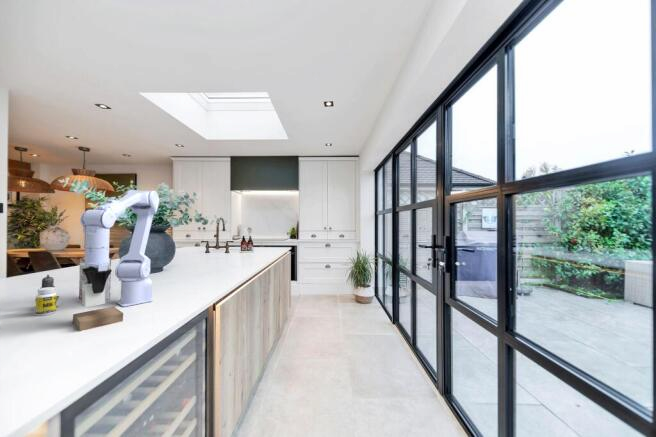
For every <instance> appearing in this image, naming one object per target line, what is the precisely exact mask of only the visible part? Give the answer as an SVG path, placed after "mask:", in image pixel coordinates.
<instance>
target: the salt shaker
mask: <svg viewBox="0 0 656 437" xmlns="http://www.w3.org/2000/svg"><path fill="white" fill-rule="evenodd" d="M54 279H55V278H54V277H53V276H50V274H47V275H46V277H43V278H42V279H41V287H40V288H39V289H41V288H46V287H55V288H56V286H54V281H55V280H54ZM59 298H60V295H57V296H56V303H57V301H58V299H59ZM34 301H35V302H36V298H35V299H34ZM58 307H59V306H58V305H56V309H57V308H58Z"/></svg>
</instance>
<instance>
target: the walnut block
mask: <svg viewBox="0 0 656 437" xmlns="http://www.w3.org/2000/svg"><path fill="white" fill-rule="evenodd" d="M121 322H124V312H122V311H121V310H120V309H118V308H117V307H116V306H108V307H104V308H98V309H92V310H88V311H83V312H78V313H73V314H72V324H73V325H74V324H75V325H74V326H75V327H76V328H77V329H78V331H79V332H83V330H84V331H87V330H92V329H96V328H100V327H105V326H108V325H113V324H116V323H121Z"/></svg>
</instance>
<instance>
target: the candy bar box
mask: <svg viewBox="0 0 656 437" xmlns="http://www.w3.org/2000/svg"><path fill="white" fill-rule="evenodd" d="M111 260H112V258H109V261H110V263H109V264H108V265H107V270H109V269H111V268H112V261H111ZM84 262H85V257H80V258H79V263H84ZM89 267H90V266H80V265H79V288H78V290H79V291H78V293H79V294H78V298H79V300H82V285H86V284H88V282H87V278H86V275H85V273H84V272H83V270H82V269H83V268H89ZM111 270H112V269H111ZM111 273H112V272H111ZM111 273H110V275H109V276H108V278H107V281H106V284H105V301H107V300H111Z"/></svg>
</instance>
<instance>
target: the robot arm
mask: <svg viewBox="0 0 656 437" xmlns="http://www.w3.org/2000/svg"><path fill="white" fill-rule="evenodd" d="M159 197H160V196H159V194H158V193H157V191H156V190H135V189H134V190H133V189H130V190H127V191H125V193H124V195H123V196H122V197H121V198H120V199H118V200H116V199H108V200H107V202H105V203H104V204H103V205H99V206H97V208H95V209H87V210H85V211H84V212H83V213H82V215H81V217H80V219H79V222H80V225H81V226H82V231H83V233H84V235H85V237H84V238H85V240H84V244H85V245H84V258H85V262H84V263H80V262H79V263H78V264H79V267H80V266H90V267H89V268H83V269H82V270H83V272H84V273H85V275H86V278H87V282H88V284H92V289H93V293H94V294H96V293H102V292H103V291H104V287H105V284H106V281H107V278H108V276H109V275H110V273H112V271H113V270H112V269H109V270H107V265H108V264H109V263H110V261H109V259H110V233H111V232H110V230H111V228H112V227H113V226H114V225H115V222H116V221H117V219H118V218H120V217H121V216H123V215H124V214H125V213H126V211H127V209H128V208H130V210H131V211H132V213H135V214H137V218H136V222H135V226H134V229H133V234H132V238H131V240H130V246H129V249H128V252H127V253H126V254H124V255H123V256H121V257H120V258H119V261H118V263H117V265H116V266H115V268H114V269H115V270H114V274H115V276H116V278H117V279H118V281H120V300H118V301H116V303H117V304H118V305H119V306H121V307H123V308H127V307H130V306H135V305H140V304H145V303H150V302H153V282H152V279H151V277H148V276H149V275H150V274H151V261H152V260H151V259H150V258H149V257H148V256H147V255H145V254H146V248H147V244H148V240H149V236H150V233H151V232H150V231H151V227H152V223H153V219H154V215H155V214H157V211H158V209H159V208H158V207H159V205H160V204H159V203H160V198H159Z"/></svg>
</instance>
